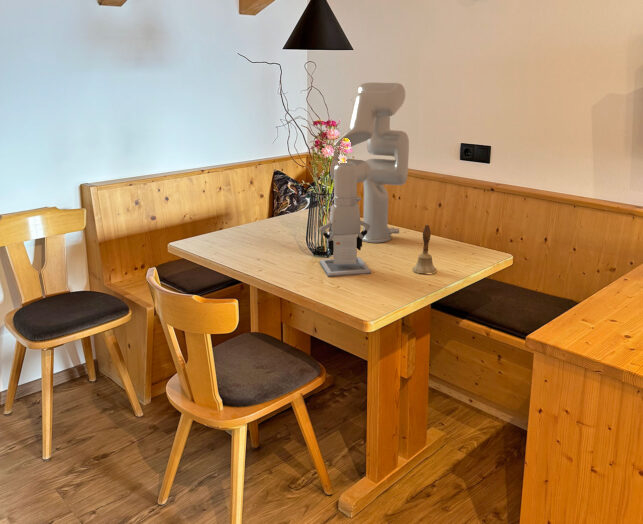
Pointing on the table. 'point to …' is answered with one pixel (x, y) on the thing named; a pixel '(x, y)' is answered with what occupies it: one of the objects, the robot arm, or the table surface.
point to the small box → (345, 249)
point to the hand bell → (425, 255)
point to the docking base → (344, 268)
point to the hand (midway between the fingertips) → (345, 249)
